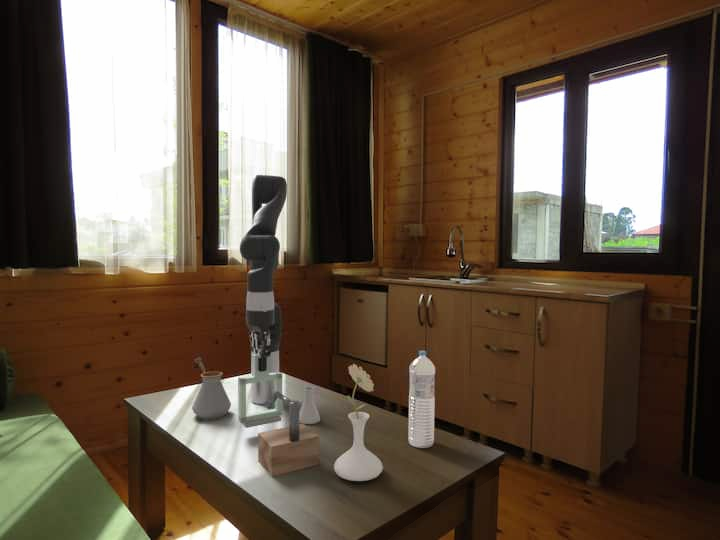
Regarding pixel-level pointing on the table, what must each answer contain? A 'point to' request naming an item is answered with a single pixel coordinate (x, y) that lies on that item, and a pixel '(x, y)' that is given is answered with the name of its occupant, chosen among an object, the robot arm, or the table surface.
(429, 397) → the water bottle
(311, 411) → the flask
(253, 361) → the square frame with post
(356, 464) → the flower in vase
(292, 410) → the bent wire
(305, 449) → the wooden block
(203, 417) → the coffee pot
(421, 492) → the table surface
